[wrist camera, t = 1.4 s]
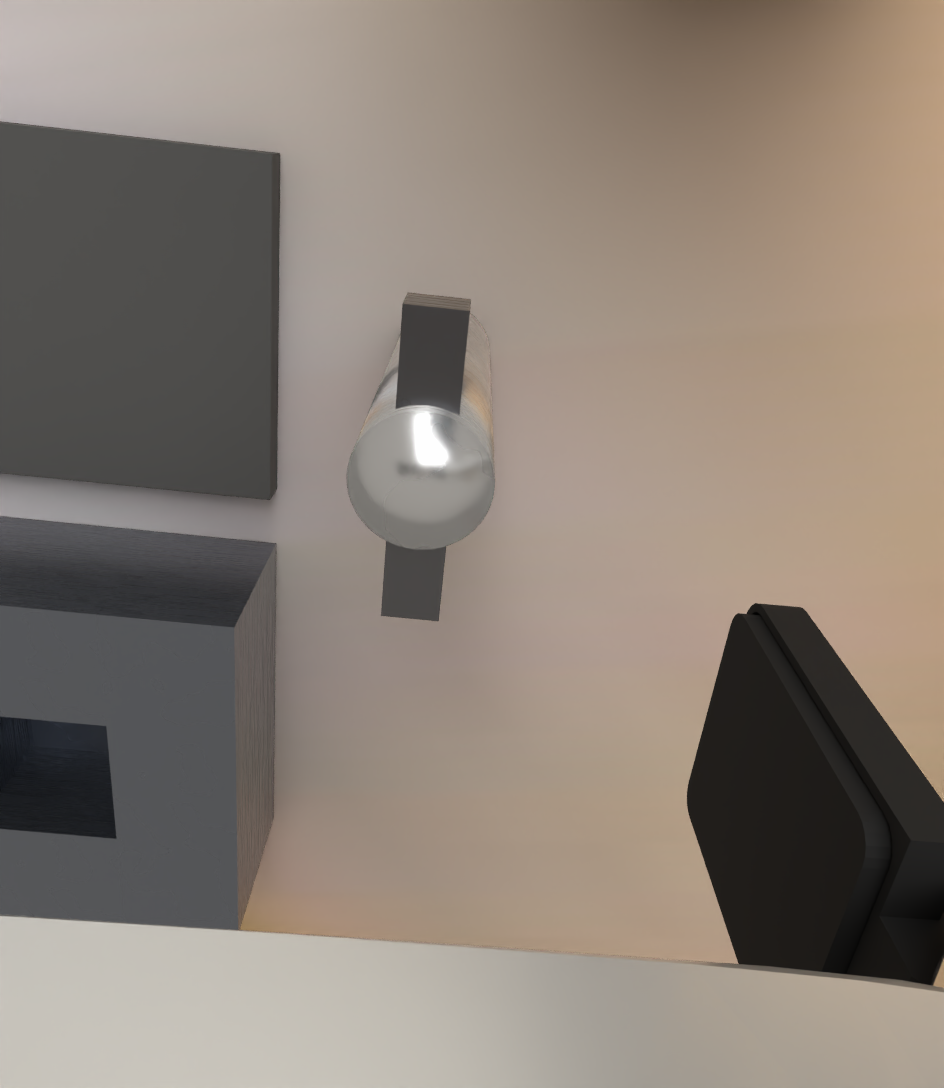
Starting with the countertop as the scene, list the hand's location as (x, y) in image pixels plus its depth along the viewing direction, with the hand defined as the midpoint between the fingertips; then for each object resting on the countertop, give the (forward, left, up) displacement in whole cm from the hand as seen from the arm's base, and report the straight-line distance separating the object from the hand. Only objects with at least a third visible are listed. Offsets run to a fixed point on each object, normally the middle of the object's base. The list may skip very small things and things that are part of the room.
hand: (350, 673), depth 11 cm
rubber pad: (+10, 0, -17) cm, 20 cm away
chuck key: (0, 0, -17) cm, 17 cm away
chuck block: (+11, +13, -17) cm, 24 cm away
